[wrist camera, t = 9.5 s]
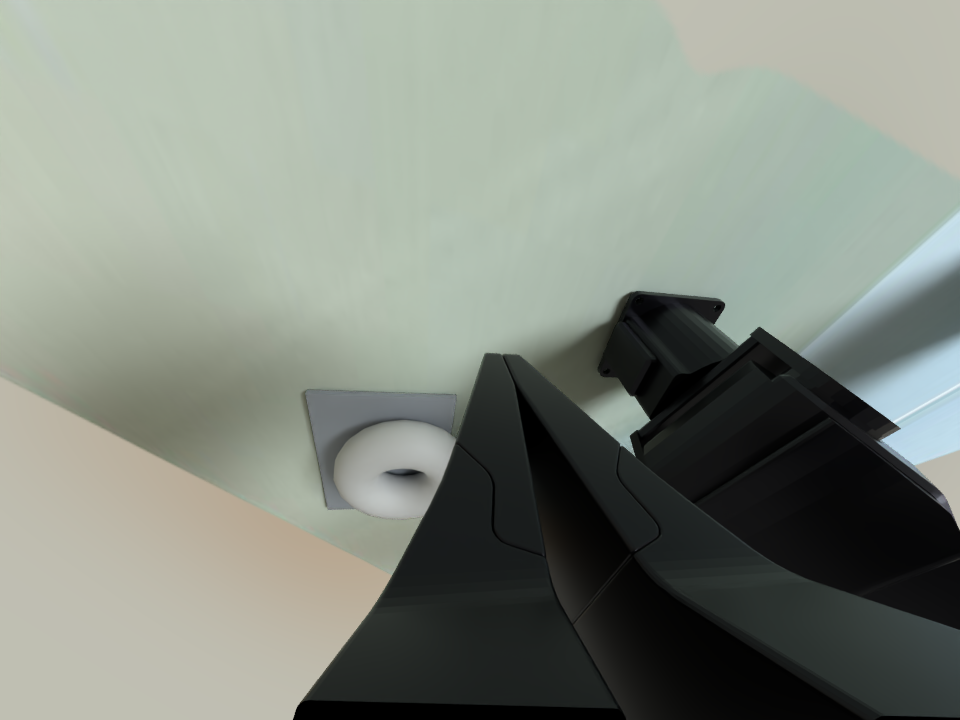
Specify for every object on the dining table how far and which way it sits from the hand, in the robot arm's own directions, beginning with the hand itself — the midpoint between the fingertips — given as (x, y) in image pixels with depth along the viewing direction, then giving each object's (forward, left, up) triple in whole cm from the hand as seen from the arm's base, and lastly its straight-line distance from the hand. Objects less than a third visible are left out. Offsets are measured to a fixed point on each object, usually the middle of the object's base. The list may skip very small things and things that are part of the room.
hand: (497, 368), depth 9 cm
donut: (-2, +21, -10) cm, 23 cm away
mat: (+4, +19, -12) cm, 23 cm away
